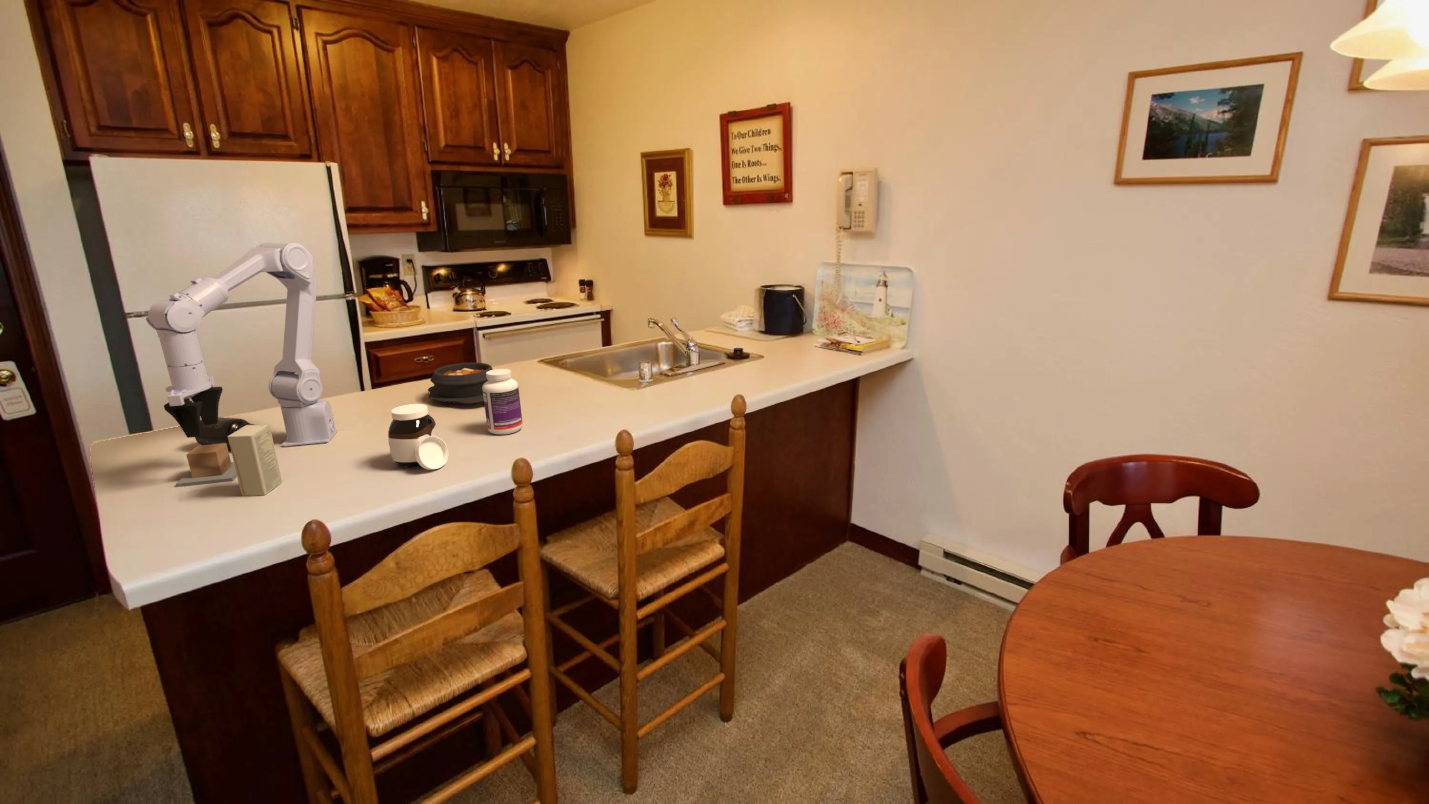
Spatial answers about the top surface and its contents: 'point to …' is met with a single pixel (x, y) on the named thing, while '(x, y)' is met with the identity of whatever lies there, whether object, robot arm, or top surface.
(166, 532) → the top surface
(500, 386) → the pill bottle
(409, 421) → the spread jar
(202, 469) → the walnut cube
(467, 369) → the casserole
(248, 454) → the skincare box
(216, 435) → the supplement bottle
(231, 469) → the slate mat
